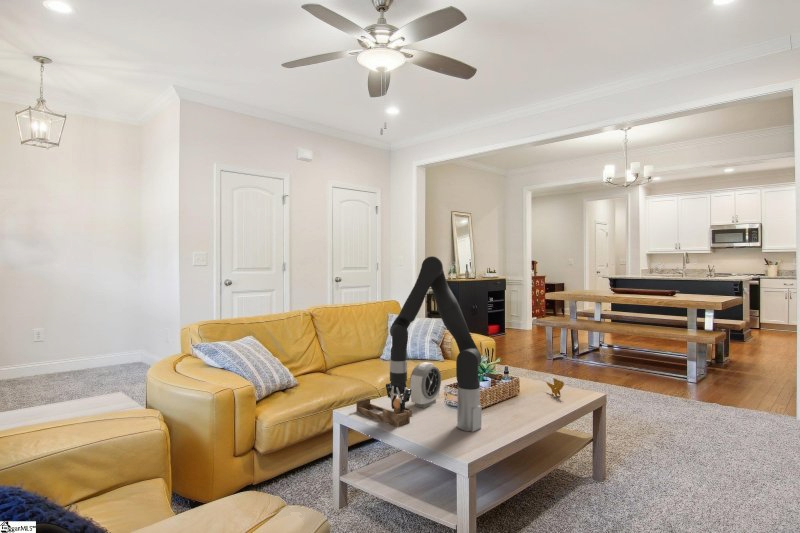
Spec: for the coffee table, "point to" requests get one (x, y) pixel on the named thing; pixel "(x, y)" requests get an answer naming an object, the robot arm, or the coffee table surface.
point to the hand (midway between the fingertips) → (398, 409)
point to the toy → (556, 386)
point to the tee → (409, 410)
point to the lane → (383, 413)
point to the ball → (396, 403)
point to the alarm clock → (425, 384)
